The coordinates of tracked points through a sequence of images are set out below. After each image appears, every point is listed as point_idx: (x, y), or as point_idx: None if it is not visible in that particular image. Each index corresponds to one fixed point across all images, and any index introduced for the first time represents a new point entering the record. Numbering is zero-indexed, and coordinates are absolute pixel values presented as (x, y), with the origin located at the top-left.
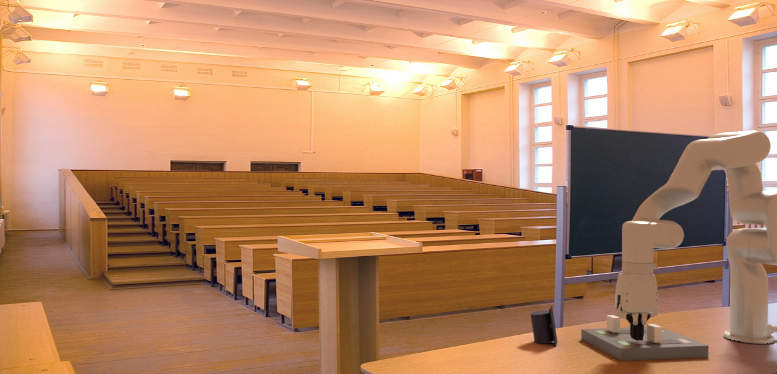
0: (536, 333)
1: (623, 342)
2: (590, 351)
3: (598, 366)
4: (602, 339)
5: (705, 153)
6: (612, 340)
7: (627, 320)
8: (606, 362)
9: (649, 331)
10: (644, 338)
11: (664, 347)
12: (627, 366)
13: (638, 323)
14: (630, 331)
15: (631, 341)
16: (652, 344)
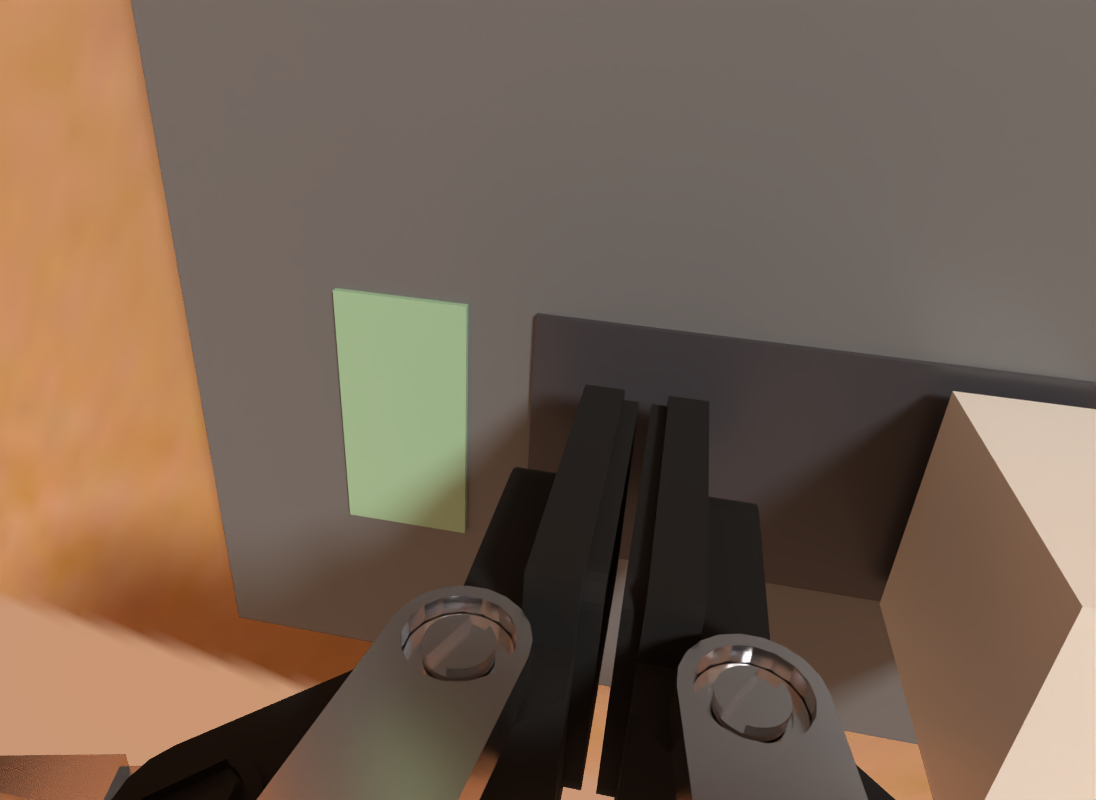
0: None
1: (418, 385)
2: (80, 44)
3: (40, 586)
4: (147, 70)
5: None
6: (306, 187)
7: (330, 682)
8: (145, 516)
9: (973, 589)
10: (1078, 198)
11: (874, 732)
12: (294, 661)
13: (621, 755)
14: (500, 512)
15: (595, 366)
16: (825, 589)
